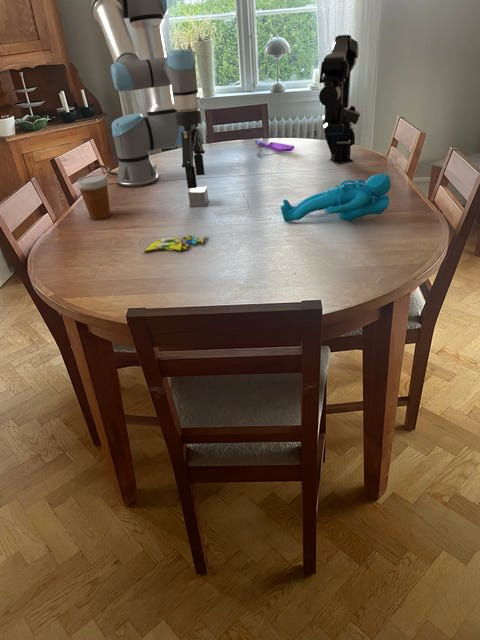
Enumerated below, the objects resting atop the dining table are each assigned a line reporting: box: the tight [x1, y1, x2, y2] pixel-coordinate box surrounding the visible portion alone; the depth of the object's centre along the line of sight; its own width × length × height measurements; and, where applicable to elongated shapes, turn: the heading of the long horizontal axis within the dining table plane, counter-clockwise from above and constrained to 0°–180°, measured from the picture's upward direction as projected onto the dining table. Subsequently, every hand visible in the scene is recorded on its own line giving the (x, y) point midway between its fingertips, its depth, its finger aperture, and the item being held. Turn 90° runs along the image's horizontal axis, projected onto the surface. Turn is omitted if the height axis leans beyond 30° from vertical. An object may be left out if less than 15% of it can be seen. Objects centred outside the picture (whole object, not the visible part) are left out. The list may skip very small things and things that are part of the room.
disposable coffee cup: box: [76, 174, 111, 220], centre depth 151 cm, size 10×10×12 cm
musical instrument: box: [254, 139, 295, 156], centre depth 208 cm, size 24×2×20 cm
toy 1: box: [144, 234, 207, 254], centre depth 130 cm, size 10×1×15 cm
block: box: [187, 186, 209, 208], centre depth 156 cm, size 5×5×5 cm
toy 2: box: [280, 173, 392, 223], centre depth 134 cm, size 17×11×30 cm
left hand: (196, 181), depth 153 cm, fingers open, 13 cm apart
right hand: (332, 150), depth 163 cm, fingers open, 9 cm apart
